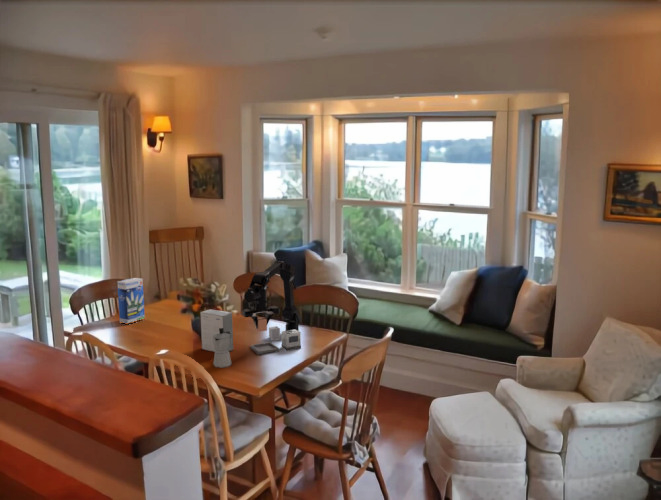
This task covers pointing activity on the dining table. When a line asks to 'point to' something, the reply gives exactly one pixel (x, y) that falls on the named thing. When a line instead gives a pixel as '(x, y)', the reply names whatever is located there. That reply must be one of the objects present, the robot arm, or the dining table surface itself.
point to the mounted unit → (291, 340)
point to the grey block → (274, 333)
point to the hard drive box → (215, 327)
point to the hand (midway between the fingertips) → (261, 327)
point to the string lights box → (131, 300)
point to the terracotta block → (262, 324)
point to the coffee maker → (222, 349)
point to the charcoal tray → (264, 348)
